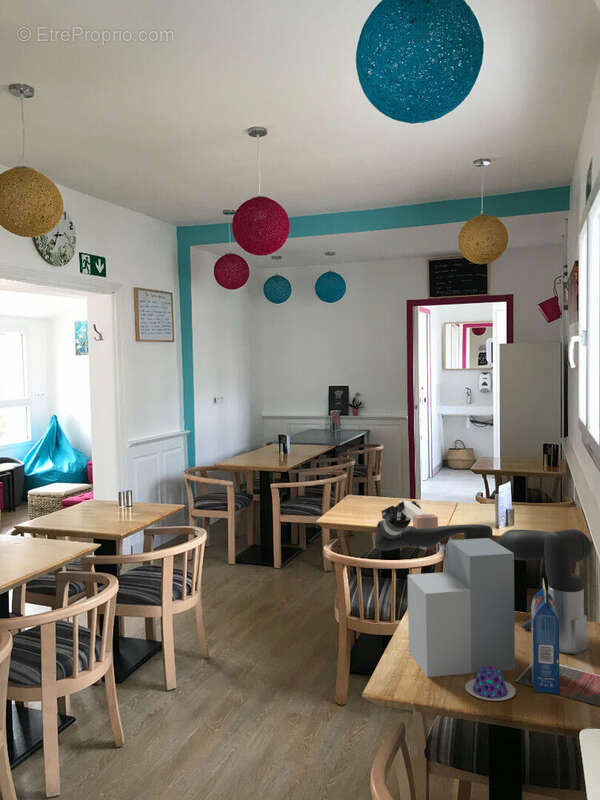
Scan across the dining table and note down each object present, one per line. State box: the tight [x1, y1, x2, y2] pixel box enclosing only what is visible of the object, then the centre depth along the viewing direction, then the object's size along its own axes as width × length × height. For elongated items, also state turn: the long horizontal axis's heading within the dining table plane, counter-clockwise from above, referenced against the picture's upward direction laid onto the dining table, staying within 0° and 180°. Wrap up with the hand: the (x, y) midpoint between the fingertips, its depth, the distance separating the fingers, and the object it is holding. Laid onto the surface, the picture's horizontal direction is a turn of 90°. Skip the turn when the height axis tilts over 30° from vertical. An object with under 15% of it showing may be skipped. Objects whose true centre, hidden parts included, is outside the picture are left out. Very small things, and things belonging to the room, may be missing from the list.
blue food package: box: [530, 578, 560, 695], centre depth 170 cm, size 6×12×25 cm, turn 163°
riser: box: [407, 538, 516, 678], centre depth 184 cm, size 16×24×31 cm, turn 98°
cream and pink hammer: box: [398, 500, 439, 529], centre depth 202 cm, size 24×6×3 cm, turn 7°
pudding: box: [464, 666, 516, 701], centre depth 167 cm, size 12×12×5 cm
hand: (408, 504), depth 209 cm, fingers closed on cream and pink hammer, 3 cm apart
